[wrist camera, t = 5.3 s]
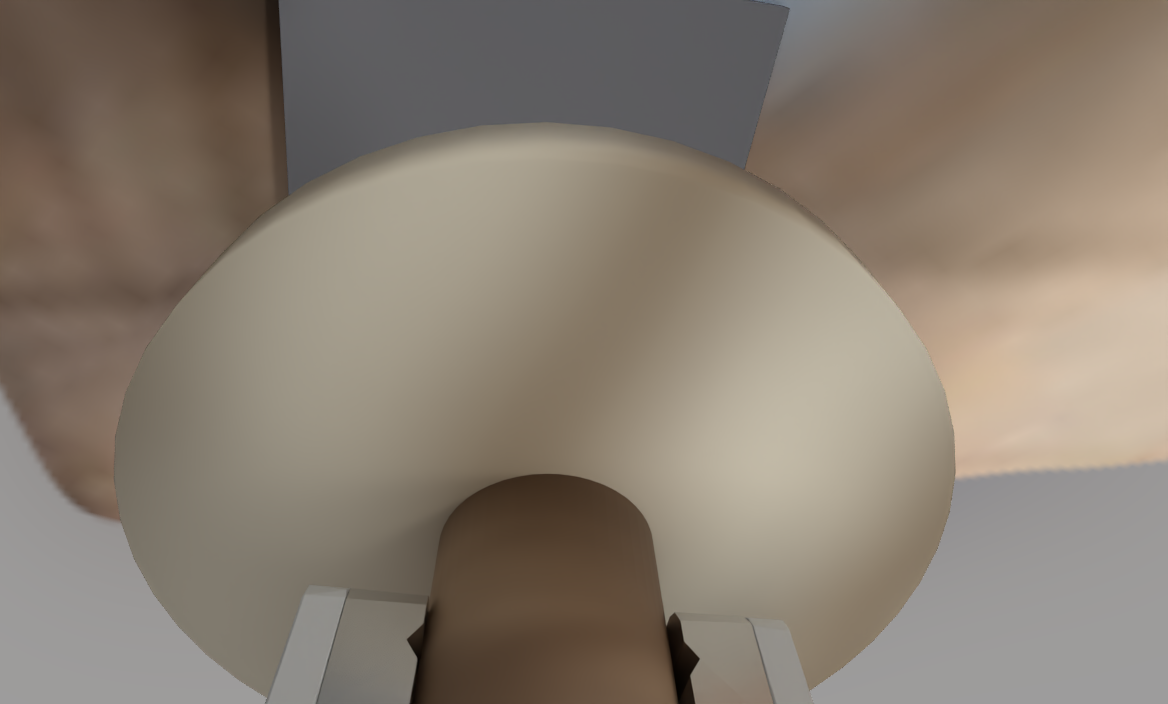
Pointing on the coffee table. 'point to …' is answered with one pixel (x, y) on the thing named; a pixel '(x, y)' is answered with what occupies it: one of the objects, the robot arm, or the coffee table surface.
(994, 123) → the coffee table surface
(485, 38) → the mat
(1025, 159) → the coffee table surface
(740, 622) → the robot arm
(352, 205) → the lid
